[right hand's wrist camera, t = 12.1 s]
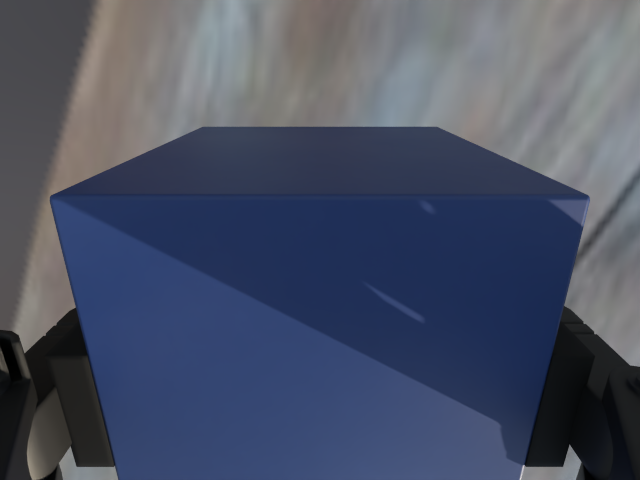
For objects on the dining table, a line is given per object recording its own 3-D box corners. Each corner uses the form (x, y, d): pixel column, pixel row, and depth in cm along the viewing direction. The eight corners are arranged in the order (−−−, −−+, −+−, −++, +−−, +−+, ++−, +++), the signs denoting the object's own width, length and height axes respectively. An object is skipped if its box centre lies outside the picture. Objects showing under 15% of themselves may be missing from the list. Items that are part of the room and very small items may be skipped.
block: (438, 126, 15) (594, 195, 6) (417, 334, 18) (502, 561, 10) (200, 126, 15) (45, 195, 6) (222, 334, 18) (136, 562, 10)
